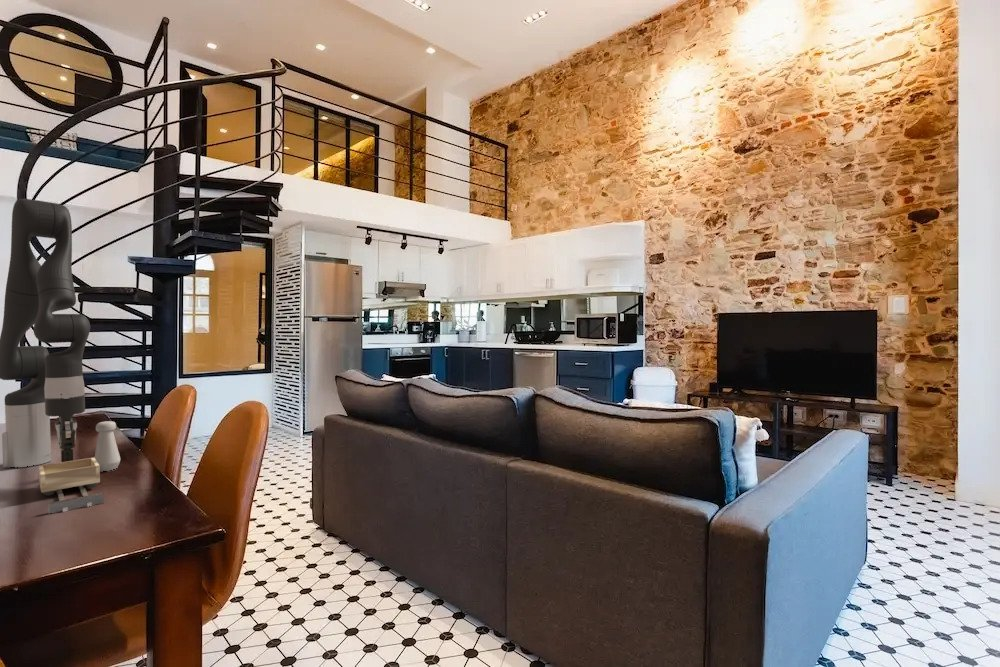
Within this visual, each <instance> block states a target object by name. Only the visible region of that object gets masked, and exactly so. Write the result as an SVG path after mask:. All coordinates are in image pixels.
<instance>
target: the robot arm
mask: <svg viewBox="0 0 1000 667" xmlns="http://www.w3.org/2000/svg"><path fill="white" fill-rule="evenodd" d="M11 213H12V215H11V235H10V236H11V237H10V238H11V239H10V240H11V241H10V242H11V243H10V260H9V267H8V272H7V278H6V284H5V292H4V294H5V295H4V304H3V305H4V307H3V320H2V327H1V333H0V380H3V381H16V380H17V381H18V380H29V379H30V381H29V383H28V384H27V385H26V386H24V387H22V388H19V389H17V390H15V391H12V392H8V393H6V395H5V396H4V416H5V419H4V420H5V431H4V432H2V433H1V444H2V446H1V447H2V450H1V451H2V468H10V467H15V468H16V469H17V467H18V468H26V467H27V466H28V467H34V466H37V465H38V466H40V465H44V464H46V463H48V462H51V461H52V446H51V445H52V442H51V441H52V440H51V417H58V421H55V422H54V428H55V430H56V440H57V443H58V446H59V448H58V449H59V450H60V459H61V460H60V462H67V461H73V460H74V449H75V447H76V443H75V441H76V440H77V428H78V420H76V419H74V416H75V415H78V414H79V415H80V414H83V413H84V412H85V411H86V398H85V393H86V392H85V381H84V374H83V373H84V372H83V356H84V352H85V347H86V344H87V341H88V338H89V336H90V332H91V324H90V323H91V322H90V320H89V319H88V317H86V316H85V315H84V314H80V313H56V312H58V311H65V310H67V309H71V308H73V307H74V306H75V305H76V304H77V303H76V302H77V297H76V291H75V285H74V279H73V272H72V267H73V266H72V262H73V261H72V260H73V259H72V257H73V256H72V255H73V228H72V227H73V225H72V218H71V217H72V216H71V213H70V211H69V209H68V207H67V206H65V205H64V204H60V203H56V202H55V203H54V202H50V201H48V202H47V201H43V200H37V199H36V200H35V199H29V198H18V199H16V200H15V202H14V204H13V207H12V212H11ZM31 237H38V238H46V239H54V240H55V244H54V248H53V250H52V251H51V253H50V255H49V256H48V257H47V258H46V260H45V261H44V262H43V263H42V265H41V263H40V262H39V260H38V259H37V257H36V255H35V254H34V252H33V250H32V247H31V244H30V241H31ZM30 328H33V335H34V336H35V338H36V339H37V340H38V341H39V342H41V343H43V344H58V343H60V344H61V343H70V346H68V348H66V349H65V350H62V351H57V352H52V353H49V352H50V351H48V348H46V347H45V346H43V345H27V346H26V345H25V346H24V345H23V346H20V342H21V341H22V338H23V337H24V336H25V334H26V333H27V332H28V330H30ZM33 465H34V466H33ZM15 468H14V469H15Z"/></svg>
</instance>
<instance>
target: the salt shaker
mask: <svg viewBox="0 0 1000 667" xmlns="http://www.w3.org/2000/svg"><path fill="white" fill-rule="evenodd" d="M116 427H117V423H116V422H115V421H114V420H113V421H112V420H111V421H110V420H108V421H107V420H105V421H101V422H98V423H97V424H95V431H96V432H98V436H97V440H96V447H95V453H94V456H93V457H94V458H95V459H96V461H97V462H98V464H99V465H100V473H104V472H103V471H107V472H111V471H110V470H112V471H114V470H113V469H115V470H117V469H118V467H119V465H120V462H121V456H120V455H121V454H120V452H119V450H118V449H119V448H118V445H117V441H116V437H115V434H114V431H115V430H116ZM116 468H117V469H116Z"/></svg>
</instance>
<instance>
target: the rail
mask: <svg viewBox="0 0 1000 667" xmlns="http://www.w3.org/2000/svg"><path fill="white" fill-rule="evenodd" d="M77 487H78V489H80V490H79V492H80V494H81V496H79V497H74V498H68V499H65V495H64V493H63V489H59V490H56V491H55V492H56V494H57V497H58V501H57V500H56V501H54V502H53V501H52V502H48V514H49V515H51V514H50V513H52V514H56V513H61V511H62V513H66V512H68V511H70V510H75V509H80V508H81V507H82V508H85V507H87V508H90V507H92V506H95V505H101V504H104V493H103V492H99V493H94V494H88V491H87V490H86V487H85V485H81V486H77ZM82 496H83V497H82ZM89 506H90V507H89Z"/></svg>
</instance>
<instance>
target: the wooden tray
mask: <svg viewBox="0 0 1000 667" xmlns="http://www.w3.org/2000/svg"><path fill="white" fill-rule="evenodd" d="M94 457H95V456H93V457H88V458H87V457H86V458H81V459H75V460H74V459H73V461H67V462H61V461H60V462H55V463H48V464H39V465H38V475H39V476H38V477H39V479H38V480H39V486H40V487H39V488H40V492H41V494H43V495H44V496H52V495H54V494H55V493H56V492H57V491H56V490H59V489H62V490H64V489H69V488H73V487H74V488H75V487H78V486H81V485H84V486H86V487H87V488H89V489H90V488H94V487H95V488H96V486H97V485H98V483H101V472H100V465H99V464H98V462H97V461H96V459H95V458H94Z"/></svg>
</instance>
